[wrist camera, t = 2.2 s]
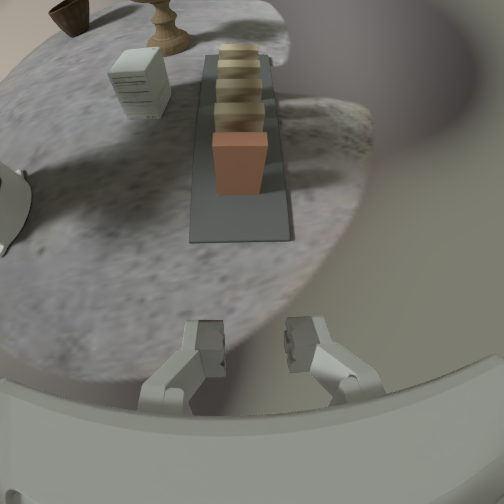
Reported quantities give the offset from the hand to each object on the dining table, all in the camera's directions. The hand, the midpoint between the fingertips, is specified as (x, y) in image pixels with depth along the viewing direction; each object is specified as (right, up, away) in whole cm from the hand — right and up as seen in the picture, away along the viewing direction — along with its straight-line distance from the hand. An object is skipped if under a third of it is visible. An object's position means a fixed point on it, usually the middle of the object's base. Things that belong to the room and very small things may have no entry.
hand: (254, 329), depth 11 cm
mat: (-3, +26, +33) cm, 42 cm away
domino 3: (-2, +22, +31) cm, 38 cm away
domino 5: (-2, +12, +29) cm, 31 cm away
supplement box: (-20, +31, +34) cm, 50 cm away
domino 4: (-2, +17, +30) cm, 35 cm away
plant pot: (-62, +82, +44) cm, 112 cm away
